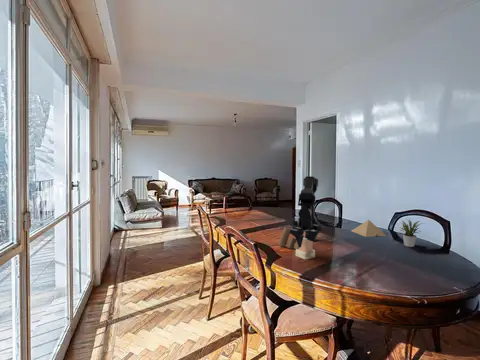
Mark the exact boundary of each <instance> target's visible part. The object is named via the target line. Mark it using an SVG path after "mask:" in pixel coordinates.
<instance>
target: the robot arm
mask: <svg viewBox="0 0 480 360" xmlns="http://www.w3.org/2000/svg"><path fill="white" fill-rule="evenodd" d="M302 183H303V184H302V185H303V189H301V191H300V193H299V194H298V202H297V206H298V207H300V209H299V211H298V213H297V214H298V220H295V219H291V220H289V225H290V227H291V228H290V229H289V230H290V235H291V236H293V238H295V239H296V241H297V244H298V247H299V248H301V245H302V241H303V238H307V240H310V241H313V243H314V242H317V241H318V238H317V237H318V235H319V234H320V232H322V226H321V225H320V224H319V222H318V219H317V217H316V215H315V205H316V195H315V193H316V192H317V190H318V187H319V178H316V177H315V176H313V175H312V176H311V175H309V176H305V177H304V178H303V181H302Z"/></svg>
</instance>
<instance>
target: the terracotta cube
mask: <svg viewBox="0 0 480 360" xmlns="http://www.w3.org/2000/svg"><path fill="white" fill-rule="evenodd" d="M313 247H314V242H313V241H310V240H307V239H304V240H303V241H302V245H301V248H299V250H300V251H303V252H310V251H313V250H314V248H313Z"/></svg>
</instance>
